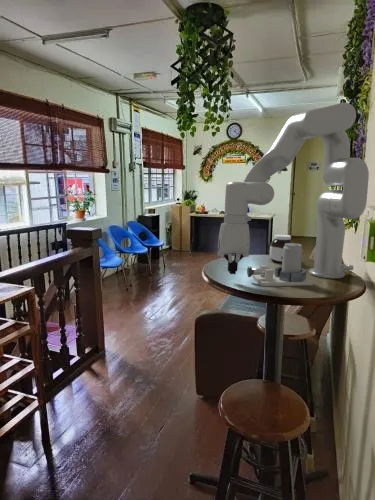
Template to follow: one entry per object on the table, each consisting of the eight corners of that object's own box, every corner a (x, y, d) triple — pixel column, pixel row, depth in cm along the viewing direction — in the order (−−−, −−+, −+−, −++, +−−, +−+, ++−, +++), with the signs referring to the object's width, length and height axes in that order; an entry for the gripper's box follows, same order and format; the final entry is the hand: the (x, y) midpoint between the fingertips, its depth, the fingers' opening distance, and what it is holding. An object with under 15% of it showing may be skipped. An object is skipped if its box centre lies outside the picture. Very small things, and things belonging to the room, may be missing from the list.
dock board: (299, 277, 126) (301, 263, 125) (312, 285, 117) (314, 270, 116) (252, 277, 124) (253, 264, 123) (261, 286, 114) (262, 271, 113)
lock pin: (267, 275, 121) (268, 265, 121) (271, 278, 118) (272, 267, 117) (246, 275, 120) (247, 265, 120) (249, 278, 117) (250, 268, 116)
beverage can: (301, 281, 117) (304, 246, 115) (281, 279, 118) (284, 245, 116) (299, 276, 123) (302, 243, 121) (280, 274, 124) (283, 242, 122)
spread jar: (269, 263, 148) (271, 236, 145) (268, 257, 159) (269, 232, 156) (298, 264, 146) (300, 237, 143) (295, 259, 157) (297, 233, 154)
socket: (297, 274, 126) (298, 266, 125) (309, 281, 116) (310, 273, 116) (271, 274, 125) (272, 266, 124) (282, 282, 115) (283, 273, 115)
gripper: (253, 219, 119) (250, 270, 122) (211, 218, 117) (208, 270, 120) (260, 221, 111) (256, 276, 115) (215, 220, 109) (212, 276, 113)
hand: (232, 273), depth 118 cm, fingers closed
